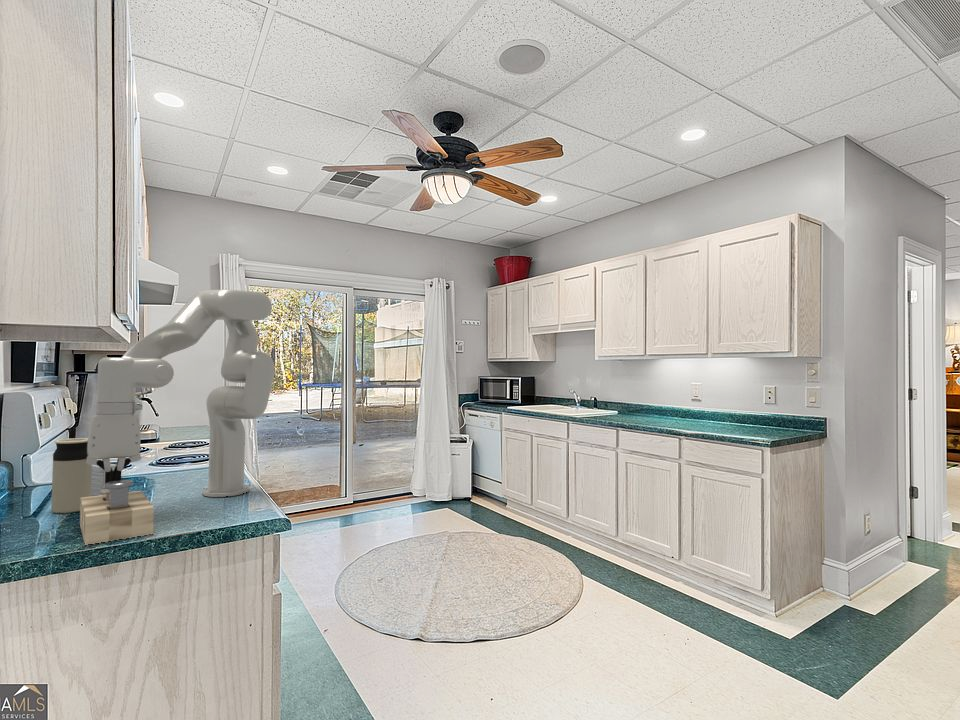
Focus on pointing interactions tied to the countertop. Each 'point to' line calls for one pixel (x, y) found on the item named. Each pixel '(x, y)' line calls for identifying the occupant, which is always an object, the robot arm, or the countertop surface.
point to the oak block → (115, 518)
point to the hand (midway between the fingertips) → (112, 487)
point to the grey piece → (118, 493)
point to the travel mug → (70, 475)
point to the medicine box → (98, 479)
